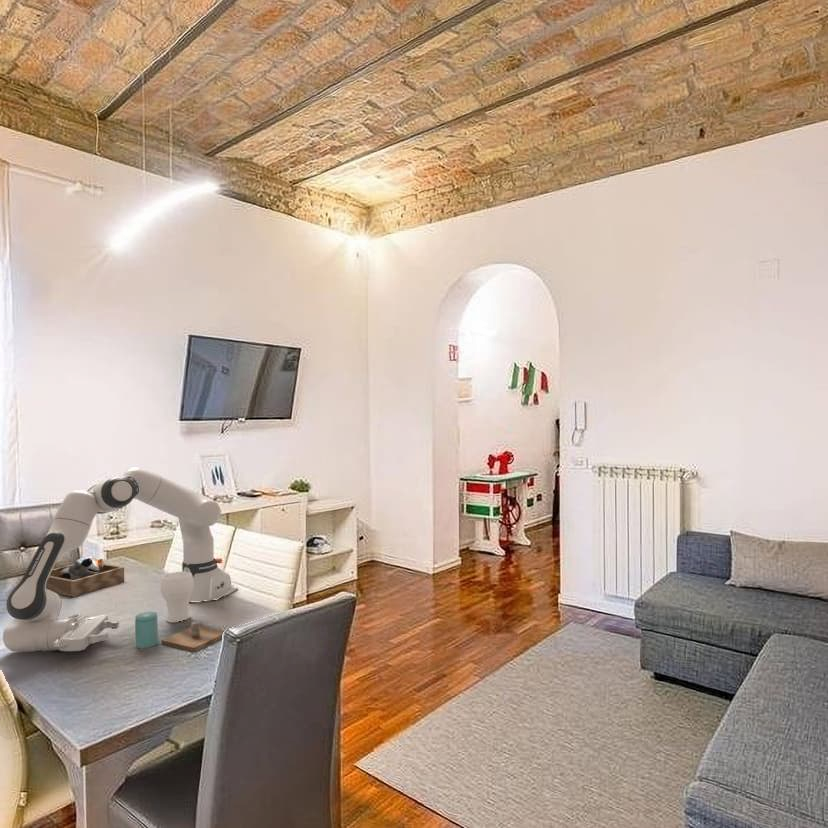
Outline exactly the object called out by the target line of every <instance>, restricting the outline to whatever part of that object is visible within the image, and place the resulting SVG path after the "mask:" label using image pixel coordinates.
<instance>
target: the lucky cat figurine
mask: <svg viewBox="0 0 828 828" xmlns="http://www.w3.org/2000/svg"><path fill="white" fill-rule="evenodd" d="M103 564H105V563H104V559H102V558H100V559H97V558H95V557H93V556H85V557H81V558H78V559H76V561H75V562H74V563H73V565H72V564H70V565H71V566H70V567H68V568H66V569H63V570H62V571H61V572H60V573H59V575H58V576H57V577H59V578H64V579H69V580H77V579H81V578H84V577H88V576H91V575H95V574H98V572H99V571H100V570H101V568H102V567H103Z"/></svg>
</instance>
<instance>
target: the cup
mask: <svg viewBox="0 0 828 828" xmlns="http://www.w3.org/2000/svg"><path fill="white" fill-rule="evenodd" d="M193 588H194V580H193V576H192V573H190V572H182V571H174V572H169V573H166V574H164V575H162V578H161V582H160V593H161V595H162V598H163V599H164V602H165V604H166V608H167V611H166V616H165V617H166V618H165V621H166V622H168V623H180V622H179V621H181V622H184V621H183V620H185V621H187V620H189V619H190V618H191V615H190V608H189V604H190V603H189V599H190V597H191V595H192V592H193ZM189 617H190V618H189ZM188 618H189V619H188ZM186 619H187V620H186Z"/></svg>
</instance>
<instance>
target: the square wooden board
mask: <svg viewBox="0 0 828 828" xmlns="http://www.w3.org/2000/svg"><path fill="white" fill-rule="evenodd" d="M224 631H225V630H222V629H220V628H219V629H217V628H215V627H214V628H213V627H208V626H203V625H200V622H199V621H194V622H191V624H190V627H189V628H186V629H184V630H181V631H179V632H177V633H174V634H171V635H170V636H168V637H166V638H162V639H160V642H161V645H163V646H167V647H168V646H169V647H173V648H176V649H182V650H184V651H190V652H193V653H195V652H197V651H199V650H201V649H203V648H206V647H208V646H209V645H211V644H214V643H216V642H218V641H220V640H222V639H223V638H222V634H223V632H224ZM221 638H222V639H221ZM219 639H220V640H219Z"/></svg>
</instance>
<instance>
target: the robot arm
mask: <svg viewBox="0 0 828 828" xmlns="http://www.w3.org/2000/svg"><path fill="white" fill-rule="evenodd" d="M134 499H135V500H137V501H140V502H142V503H143V504H145V505H146V504H147V505H148V506H151V507H153V508H155V509H157V510H159V511H162V512H164V513H167V514H169V515H171V516H173V517H176V518H178V523H179V529H180V533H181V538H182V555H183V556H182V557H183V560H182V562H181V563H182V564H181V570H182V571H181V572H190V573H192V576H193V580H194V588H193V592H192V595H191V597H190V599H189V602H191V601H204V600H214V599H218V598H220V597H222V596H224V595H226V596H228V595H230V594H231V593H233V592H235V591H237V590H238V588H239V587H238V586H237V585H235V584H233V583H232V579H231V578H232V577H231V575H230V574H229V573H228V572H226V571H225V570H224V569H222V568H220V567H219V566H218V564H220V565H221V564H222V562H223V558H222V557H221V558H219V557H216V558H215V554H214V553H215V550H214V549H215V547H214V546H215V545H214V541H215V540H214V537H213V534H212V532H211V528H210V527H211V526H214V525H215V524H216V523H218V521H219V520H220V518H221V514H222V510H221V507H220V506H219V505H220V504H218V503H217V502H216V501H215V500H214V499H212V498H210V497H209V496H205V495H203V494H201V493H199V492H197V491H195V490H194V489H193V490H192V489H191V488H188V487H186V486H184V485H181V484H179V483H177V482H175V481H172V480H170V479H168V478H166V477H164V476H162V475H160V474H158V473H155V472H153V471H151V470H147V469H144V468H141V467H137V466H136V467H135V466H134V467H130V468H129V469H127V470H126V471H125V472H124V473H123V474H122V476H114V477H110V478H107V479H105V480H104V479H103V480H101V481H99V483H97V484H95V485H93V486H92V487H90V488H89V489H87V491H86V490H81V489H78V490H76V489H75V490H72V491H70V492H68V493H67V494H66V496H65V497H64V498H63V500H62V501H61V504H60V506H59V507H58V509H57V510H56V513H55V515H54V518H53V520H52V523H51V526H50V528H49V530H48V532H47V534H46V535H45V536H44V538H43V539H42V541H41V542H40V544H39V545H38V547H37V549H36V551H35V553H34V555H33V556H32V559H31V561H30V563H29V565H28V566H27V569H26V571H25V572H24V575H23V576H22V578H21V580H20V581H19V582H18V584H17V585H16V586H15V587H14V588H13V589H12V590H11V591H10V592H9V595H8V597H7V599H6V604H5V605H6V610H7V612H8V614H9V616H11V617H12V618H13V620H12V621H11V622H10V623H9V624H8V625H6V626H5V628H4V630H3V634H2V640H3V645H4V646H5V648H6V649H8V650H9V651H11V652H15V653H32V652H39V651H42V650H48V651H61V652H80V651H83V650H85V649H86V648H87V647H88V646H89V645H90V644H95V643H98V642H102V641H103V642H104V641H107V640H108V638H109V633H108V632H104V630H105V629H111V630H115V629H118V628H119V627H120V622H119V621H118V620H117V621H112V620H109V617H108V615H107V614H85V615H82V614H81V613H76V614H73V615H70V616H68V617H62V618H59V616H60V612H61V609H62V598H61V596H60V594H57V593H55V592H53V591H51V590H48V589H46V583H47V580H48V578H49V576H50V574H51V572H52V570H53V569H54V568H55V565H56V563H57V561H58V560H59V559H60V557H61V556H63V555H64V554H65V553H70V552H72V551H74V550H78V549H79V548H80V547H82V546H83V544H84V542H85V541H86V539H87V538H88V535H89V532H90V530H91V528H92V524H93V521H94V519H95V516H96V515H97V514H98V515H102V514H108V513H111V512H116V511H117V510H119V509H122V508H124V507H126V506H128V505H129V504H130V503H131V502H132V501H133V500H134ZM224 597H225V596H224Z"/></svg>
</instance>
